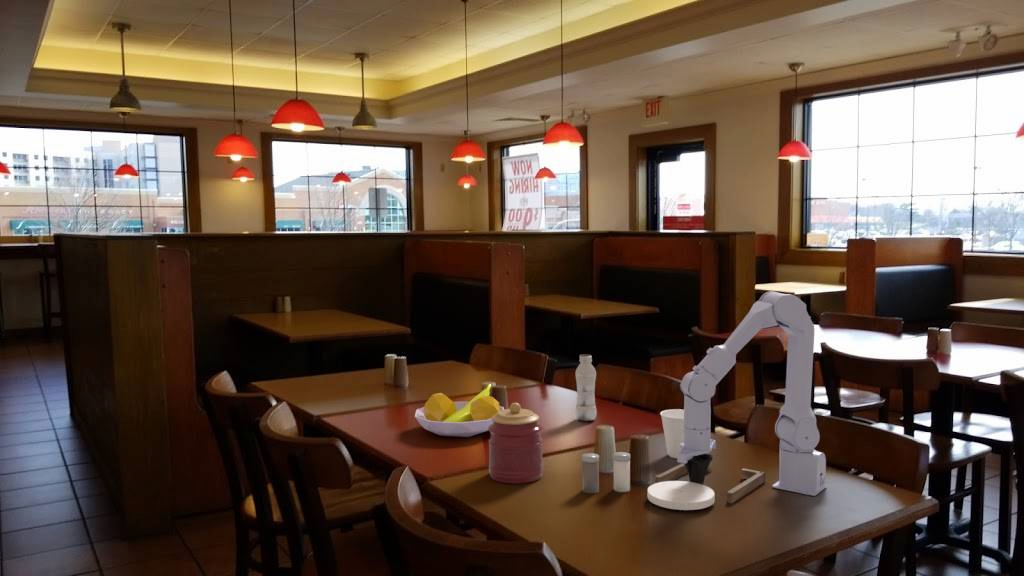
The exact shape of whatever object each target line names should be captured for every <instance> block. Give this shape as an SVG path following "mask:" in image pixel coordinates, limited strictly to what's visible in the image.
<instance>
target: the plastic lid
mask: <svg viewBox="0 0 1024 576" xmlns="http://www.w3.org/2000/svg"><path fill="white" fill-rule="evenodd" d="M646 494H647V500H648V501H649V502H650V503H651V504H654V505H656V506H658V507H662V508H665V509H670V510H679V511H682V510H683V511H694V510H703V509H706V508H709V507H711V506H713V505H714V503H715V497H716V496H715V491H714V489H712V488H711V487H709V486H707V485H704V484H703V485H702V484H698V483H693V482H690V481H685V480H673V481H666V482H665V481H664V482H659V483H655V482H654V483H653V484H651V485H649V486H648V487H647V493H646Z"/></svg>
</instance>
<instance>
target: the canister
mask: <svg viewBox="0 0 1024 576" xmlns="http://www.w3.org/2000/svg"><path fill="white" fill-rule="evenodd" d="M492 420H493V423H492V424H491V425H489V427H488V432H490V438H489V439H488V452H489V453H488V455H489V456H488V457H489V459H488V460H489V461H488V462H489V465H488V473H489V477H490V478H491V479H492V480H493V481H496V482H498V483H504V484H515V485H516V484H527V483H532V482H535V481H537V480H538V481H539V480H540V479H541V478H542V477H543V472H544V463H543V443H544V440H543V438H542V435H541V432H542V431H543V429H544V427H543V425H542V424H541V423H540V422H539V420H540V416H539V415H538V414H537V413H534V412H533V411H532V410H530V409H525V408H522V407H521V404H520V403H518V402H512V403H511V404H510V406H509V408H506V409H505V408H504V410H501V411H499V412H498V413H497V414H495V415H493V416H492Z"/></svg>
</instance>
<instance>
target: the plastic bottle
mask: <svg viewBox="0 0 1024 576" xmlns="http://www.w3.org/2000/svg"><path fill="white" fill-rule="evenodd" d="M578 362H580V363H579V364H578V366H577V367H576V370H575V381H576V390H577V391H576V393H577V397H576V406H575V417H576V419H577V420H579V421H583V422H589V421H594V420H595V419H596V417H597V414H598V412H597V406H596V398H595V392H596V391H595V388H596V381H597V380H596V379H597V371H596V368H595V367H594V365H593V364H592V362H593V358H592V355H591V354H580V355H579V361H578Z"/></svg>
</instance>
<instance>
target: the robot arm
mask: <svg viewBox="0 0 1024 576" xmlns="http://www.w3.org/2000/svg"><path fill="white" fill-rule="evenodd" d="M777 326H779V327H780V328H781V329H782V330H783V331H784V332H785V333H786V334H787V351H786V352H787V353H786V354H787V357H786V372H785V374H786V375H785V376H786V377H785V394H784V396H785V397H784V404H783V405H782V406H781V407H780V409H779V415H778V418H777V420H776V422H775V424H774V432H775V434H776V436H777V437H778V438H779V462H778V464H779V466H778V469H779V471H778V475H779V476H778V477H779V478H778V479H779V480H778V481H776V482H775V483H774V484H772V485H771V486H772V488H773V489H779V490H784V491H789V492H793V493H798V494H803V495H808V496H813V497H815V496H817V495H818V494H819V493H821V491H823V490H824V489H826V488H827V484H826V478H827V476H826V475H827V473H826V472H827V470H826V469H827V468H826V467H827V459H826V454H825V453H824V452H822V451H819V450H816V449H815V448H817V446H818V444H819V442H820V438H821V437H820V436H821V435H820V430H819V429H818V426H817V418H816V415H815V413H814V412H813V408H812V405H811V403H812V384H813V368H814V367H813V366H814V365H813V363H814V349H815V348H814V347H815V325H814V322H813V321H812V319H811V317H810V315H809V313H808V311H807V304H806V302H804V301H802V300H801V298H799V297H798V296H796V295H794V294H790V293H788V294H786V293H780V292H777V291H776V290H775V291H773V290H771V291H767V292H765V293H763V294H762V295H761V296H760V297H759V299H758V300H757V301H756V302H754V303H753V304H752V306H751V308H750V310H749V312H748V313H747V314H746V315H745V316H744V318H743V320H742V321H741V322H740V323H739V324H738V326H737V327H736V328H735V329H734V330H733V331H732V333H731V334H730V335H729V337H728V338H727V340H725V342H724V343H723V344H720V345H719V344H718V345H714V346H713V347H709V348H708V349H707V350H706V355H705V357H704V358H703V359H702V360H701V361H700V362H699V363H698V364H697V365H694V366H693V367H692V370H693V371H690V372H687V373H686V374H685V375H684V376H683V377H682V380H681V383H679V388H680V390H681V392H682V393H683V395H684V397H683V399H684V401H683V404H684V405H683V410H684V443H681V444H679V447H680V448H682V449H681V451H680V452H679V453H677V459H676V460H677V461H676V462H677V463H680V464H681V463H684V464H685V466H686V469H687V471H688V473H687V475H688V477H689V482H693V483H698V484H702V485H704V482H705V479H706V475H707V472H706V471H707V469H708V466H709V464H710V462H712V460H713V455H712V454H709V453H711V452H712V450H715V449H716V448H717V446H716V445H717V440H715V439H711V431H712V430H711V415H712V414H711V413H712V411H711V410H712V409H711V399H712V398H713V397H714V395H715V394H716V389H717V387H716V386H717V385H718V384H719V383H720V382H721V380H722V379H723V378H724V377H725V376H726V375H727V374H728V373H729V371H730V370H731V369H732V368H733V366H735V364H736V363H737V360H736V358H737V354H738V353H739V352H741V350H742V349H743V348H744V346H746V345H747V344H748V343H749V342H750V341H751V340H752V339H753V338H754V336H756V335H757V334H758V333H759V332H760V331H761V330H762V329H766V328H772V327H777Z"/></svg>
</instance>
